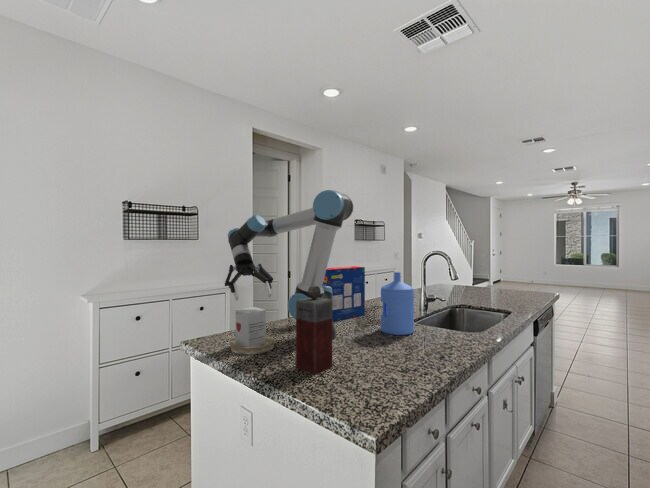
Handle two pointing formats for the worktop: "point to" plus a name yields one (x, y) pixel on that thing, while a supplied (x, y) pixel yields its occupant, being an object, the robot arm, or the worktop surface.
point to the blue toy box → (346, 291)
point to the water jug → (397, 307)
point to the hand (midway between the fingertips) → (254, 297)
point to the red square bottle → (314, 332)
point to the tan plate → (252, 350)
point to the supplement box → (250, 327)
